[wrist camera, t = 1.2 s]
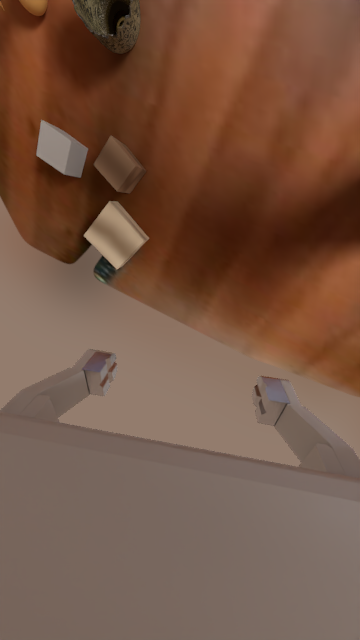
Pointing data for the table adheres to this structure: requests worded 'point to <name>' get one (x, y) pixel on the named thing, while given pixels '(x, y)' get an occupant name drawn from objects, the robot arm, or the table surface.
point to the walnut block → (119, 166)
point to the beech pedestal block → (116, 234)
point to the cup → (111, 22)
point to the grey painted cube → (61, 150)
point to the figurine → (33, 6)
